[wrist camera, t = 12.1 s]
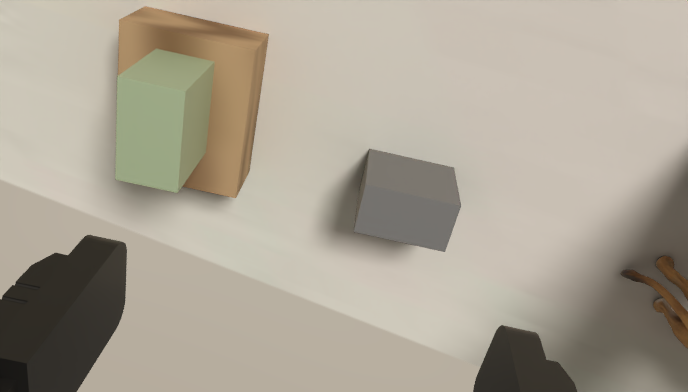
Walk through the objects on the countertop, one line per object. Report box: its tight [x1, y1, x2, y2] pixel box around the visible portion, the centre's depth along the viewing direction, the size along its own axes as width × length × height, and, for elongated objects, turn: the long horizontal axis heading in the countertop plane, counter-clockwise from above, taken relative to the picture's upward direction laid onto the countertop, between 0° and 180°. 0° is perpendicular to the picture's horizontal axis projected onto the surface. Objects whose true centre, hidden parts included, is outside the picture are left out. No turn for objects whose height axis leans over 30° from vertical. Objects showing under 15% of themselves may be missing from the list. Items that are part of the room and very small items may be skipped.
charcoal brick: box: [354, 149, 461, 252], centre depth 40 cm, size 6×4×6 cm, turn 78°
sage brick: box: [115, 49, 215, 193], centre depth 34 cm, size 6×4×6 cm, turn 168°
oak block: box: [118, 7, 269, 198], centre depth 39 cm, size 8×10×4 cm
